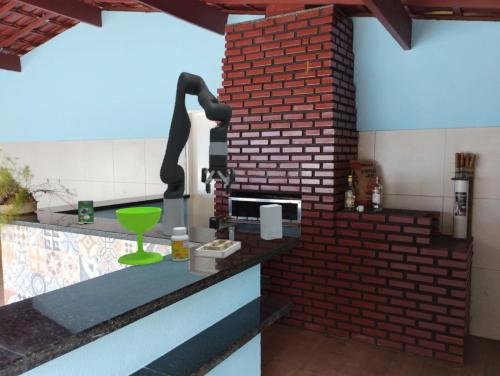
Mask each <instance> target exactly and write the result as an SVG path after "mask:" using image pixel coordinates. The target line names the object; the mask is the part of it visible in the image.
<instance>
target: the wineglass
mask: <svg viewBox="0 0 500 376" xmlns="http://www.w3.org/2000/svg"><path fill="white" fill-rule="evenodd" d="M162 210H163V209H162V208H161V207H155V206H154V207H153V206H152V207H150V206H149V207H148V206H147V207H145V206H143V207H141V206H140V207H128V208H119V209H116V211H115V215H116V218H117V221H118V223H119V224H120V225H121V226H122V227H123V228H125V229H126V230H128V231H130V232H133V233H136V236H137V237H136V239H137V242H136V243H137V250H136V251H135V252H131V253H130V252H129V253H126V254H123V255H122V256H120V257H119V258H118V259H117V263H119V264H121V265H125V266H142V265H150V264H155V263H158V262H161V261H162V260H163V259H164V256H163V255H162V254H161V253H159V252H156V251H146V250H144V240H143V239H144V238H143V237H144V235H143V233H144V232H148V231H150V230H152V229H153V228H154V227H155V226H156V225H157V224H158V222H159V221H160V219H161V217H162Z"/></svg>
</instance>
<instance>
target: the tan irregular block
mask: <svg viewBox="0 0 500 376" xmlns="http://www.w3.org/2000/svg"><path fill="white" fill-rule="evenodd" d="M214 240H215V241H214ZM214 240H213V239H212V240H211V241H210V242H208V243H209V244H208V243H206V244H207V245H206V244H204V245H205V246H204V245H203V246H204V250H214V251H224V250H225V249H227V248H229V247H231V246H232V245H233V240H229V239H214Z"/></svg>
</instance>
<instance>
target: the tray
mask: <svg viewBox="0 0 500 376" xmlns="http://www.w3.org/2000/svg"><path fill="white" fill-rule="evenodd" d="M215 240H216V239H214V240H213V241H215ZM209 243H210V242H208V243H206V244H204V245H201V246H200V247H198V248H195V249H194V257H199V258H209V259H210V258H211V259H225V258H227V257H229V256H231V255H232V254H233V253H236V251H239V250H240V249H242V241H235V240H234V241H233V245H232V246H231V247H229V248H227V249H225V250H224V251H214V250H204V246H205V245H207V244H209Z"/></svg>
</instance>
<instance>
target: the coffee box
mask: <svg viewBox="0 0 500 376" xmlns="http://www.w3.org/2000/svg"><path fill="white" fill-rule="evenodd" d="M94 213H95V212H94V200H78V201H77V217H78V219H77V221H78V222H95V220H94ZM78 222H77V223H78Z"/></svg>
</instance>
